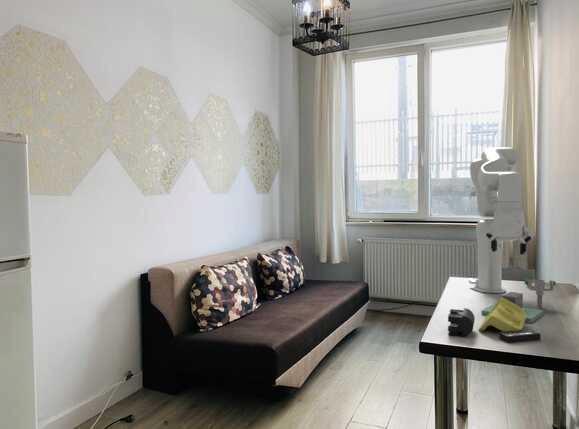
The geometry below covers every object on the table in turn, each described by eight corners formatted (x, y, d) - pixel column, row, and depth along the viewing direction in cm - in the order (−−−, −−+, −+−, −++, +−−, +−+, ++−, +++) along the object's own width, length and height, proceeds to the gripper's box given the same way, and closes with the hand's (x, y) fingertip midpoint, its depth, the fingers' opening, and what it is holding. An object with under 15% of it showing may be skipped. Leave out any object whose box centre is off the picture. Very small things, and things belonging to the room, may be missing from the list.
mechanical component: (556, 307, 163) (556, 281, 163) (526, 306, 165) (526, 280, 165) (552, 305, 166) (553, 279, 166) (523, 304, 168) (523, 279, 168)
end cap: (473, 339, 130) (473, 316, 129) (447, 336, 133) (447, 314, 132) (474, 329, 139) (474, 308, 138) (450, 327, 142) (450, 306, 141)
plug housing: (502, 311, 153) (502, 295, 153) (510, 306, 159) (510, 291, 159) (515, 313, 151) (515, 297, 150) (522, 308, 156) (522, 293, 156)
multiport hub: (498, 339, 130) (498, 332, 130) (529, 336, 132) (529, 329, 132) (509, 344, 125) (509, 336, 125) (541, 341, 128) (541, 333, 128)
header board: (481, 314, 155) (481, 300, 155) (495, 307, 165) (495, 293, 165) (530, 323, 144) (531, 308, 144) (542, 314, 154) (542, 300, 154)
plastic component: (521, 331, 129) (488, 312, 134) (509, 350, 132) (477, 332, 136) (527, 311, 146) (498, 295, 150) (517, 328, 148) (488, 312, 153)
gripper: (480, 206, 163) (480, 251, 164) (532, 207, 151) (530, 256, 152) (488, 204, 168) (487, 248, 170) (538, 206, 156) (537, 253, 158)
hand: (508, 252), depth 161 cm, fingers open, 9 cm apart
